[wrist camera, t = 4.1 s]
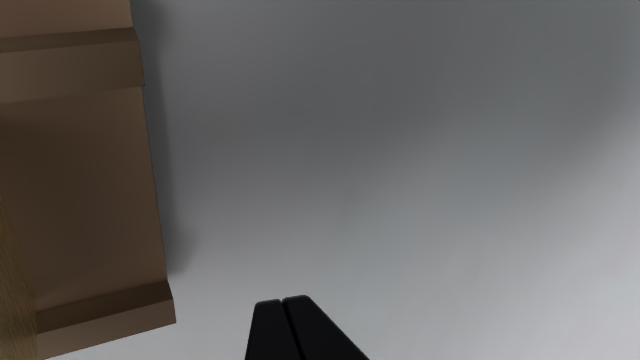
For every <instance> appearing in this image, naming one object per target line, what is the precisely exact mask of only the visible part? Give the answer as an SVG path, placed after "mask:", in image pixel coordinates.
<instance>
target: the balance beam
mask: <svg viewBox="0 0 640 360" xmlns="http://www.w3.org/2000/svg"><path fill="white" fill-rule="evenodd" d="M141 86H145V82H144V75H143V67H142V59H141V52H140V44H139V39H138V37H137V35H136V32H135V30H134V28H133V22H132V15H131V8H130V0H0V196H1V199H2V202H3V205H4V208H5V211H6V214H7V217H8V220H9V222H10V225H11V228H12V231H13V234H14V237H15V240H16V243H17V246H18V249H19V252H20V255H21V258H22V261H23V264H24V266H25V269H26V272H27V275H28V278H29V281H30V284H31V287H32V290H33V293H34V296H35V299H36V320H37V346H38V360H44V359H48V358H51V357H55V356H59V355H62V354H66V353H69V352H73V351H77V350H80V349H84V348H88V347H91V346H95V345H98V344H102V343H106V342H109V341H113V340H116V339H120V338H124V337H127V336H131V335H134V334H138V333H142V332H145V331H149V330H152V329H156V328H160V327H163V326H167V325H170V324H174V323H176V317H175V309H174V302H173V297H172V293H171V290H170V286H169V283H168V279H167V271H166V264H165V257H164V249H163V242H162V235H161V227H160V220H159V213H158V205H157V198H156V191H155V183H154V176H153V169H152V162H151V154H150V147H149V140H148V132H147V125H146V118H145V110H144V103H143V96H142V88H141Z"/></svg>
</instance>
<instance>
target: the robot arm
mask: <svg viewBox="0 0 640 360" xmlns="http://www.w3.org/2000/svg"><path fill="white" fill-rule="evenodd" d="M245 360H369V359H368V357H367V356H366V355H365V354H364V353H363V352H362V351H361V350H360V349H359V348H358V347H357V346H356V345H355V344H354V343H353V342H352V341H351V340H350V339H349V338H348V337H347V336H346V335H345V334H344V333H343V331H342V330H341V329H340V328H339V327H338V326H337V325H336V324H335V323H334V322H333V321H332V320H331V319H330V318H329V317H328V316H327V315H326V314H325V313H324V312H323V311H322V310H321V309H320V308H319V307H318V305H317V304H316V303H315V302H314V301H313V300H312V299H311V298H310V297H308V296H306V295H299V296H293V297H286V298H284V299H283V300H282V302H281V301H280V300H279V299H274V300H267V301H261V302H258V303H256V305H255V308H254V312H253V318H252V323H251V328H250V334H249V339H248V344H247V350H246V355H245Z"/></svg>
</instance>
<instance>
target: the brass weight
mask: <svg viewBox="0 0 640 360" xmlns="http://www.w3.org/2000/svg"><path fill="white" fill-rule="evenodd" d="M0 360H38V346H37V320H36V299H35V296H34V293H33V290H32V287H31V284H30V281H29V278H28V275H27V272H26V269H25V266H24V264H23V261H22V258H21V255H20V252H19V249H18V246H17V243H16V240H15V237H14V234H13V231H12V228H11V225H10V222H9V220H8V217H7V214H6V211H5V208H4V205H3V202H2V199H1V196H0Z"/></svg>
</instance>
